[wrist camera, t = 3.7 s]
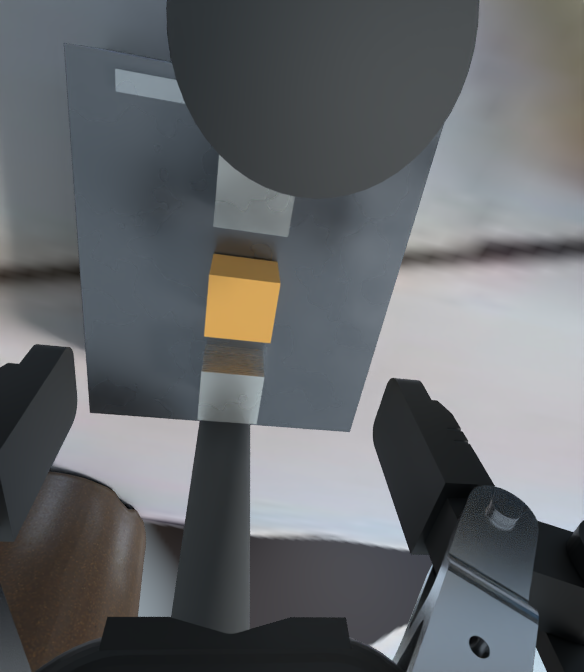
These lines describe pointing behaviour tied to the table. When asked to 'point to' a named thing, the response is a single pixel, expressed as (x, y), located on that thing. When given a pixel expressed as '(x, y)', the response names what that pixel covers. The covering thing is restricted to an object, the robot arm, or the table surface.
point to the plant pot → (72, 566)
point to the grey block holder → (196, 257)
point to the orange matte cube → (242, 298)
